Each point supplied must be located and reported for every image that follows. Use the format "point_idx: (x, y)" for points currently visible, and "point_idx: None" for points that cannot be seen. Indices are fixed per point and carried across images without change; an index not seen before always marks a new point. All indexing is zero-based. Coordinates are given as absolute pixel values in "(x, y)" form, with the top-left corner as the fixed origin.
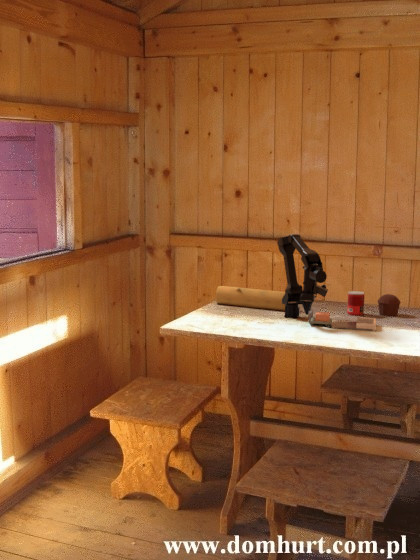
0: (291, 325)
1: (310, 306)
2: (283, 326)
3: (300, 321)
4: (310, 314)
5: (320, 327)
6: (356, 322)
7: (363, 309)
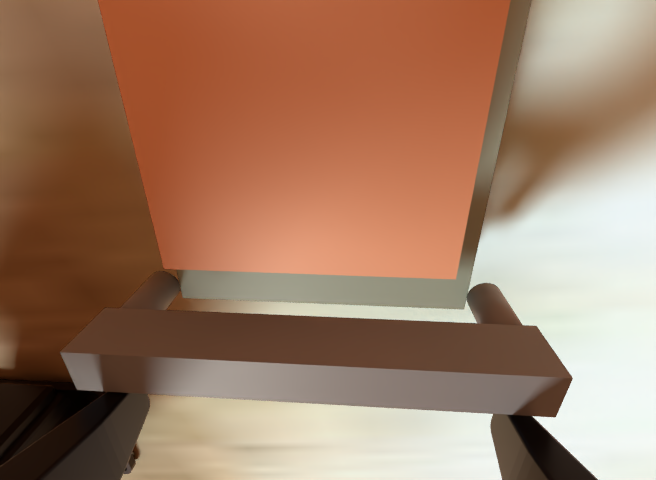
0: None
1: (78, 460)
2: None
3: None
4: (561, 374)
5: (551, 106)
6: None
7: None
